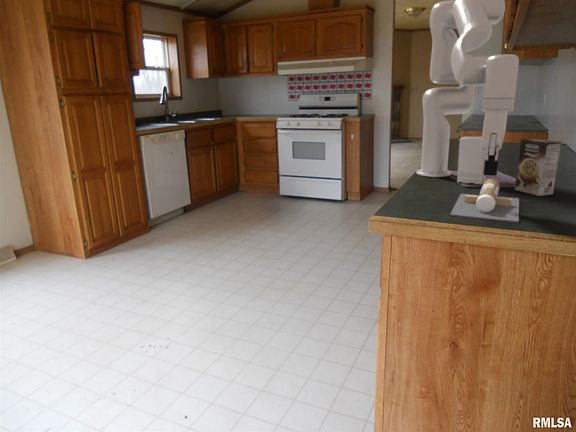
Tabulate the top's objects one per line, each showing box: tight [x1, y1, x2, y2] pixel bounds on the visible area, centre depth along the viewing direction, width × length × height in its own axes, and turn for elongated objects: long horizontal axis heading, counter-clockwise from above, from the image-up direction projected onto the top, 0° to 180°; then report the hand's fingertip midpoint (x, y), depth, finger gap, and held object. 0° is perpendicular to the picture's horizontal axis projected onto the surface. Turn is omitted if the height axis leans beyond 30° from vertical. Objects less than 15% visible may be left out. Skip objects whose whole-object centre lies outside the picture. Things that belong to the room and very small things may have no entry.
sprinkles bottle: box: [476, 178, 501, 212], centre depth 119 cm, size 5×5×13 cm
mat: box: [449, 193, 520, 223], centre depth 120 cm, size 24×16×2 cm, turn 153°
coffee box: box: [514, 138, 562, 197], centre depth 133 cm, size 9×6×16 cm
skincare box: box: [457, 135, 487, 185], centre depth 148 cm, size 8×7×16 cm
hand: (490, 174), depth 118 cm, fingers closed
